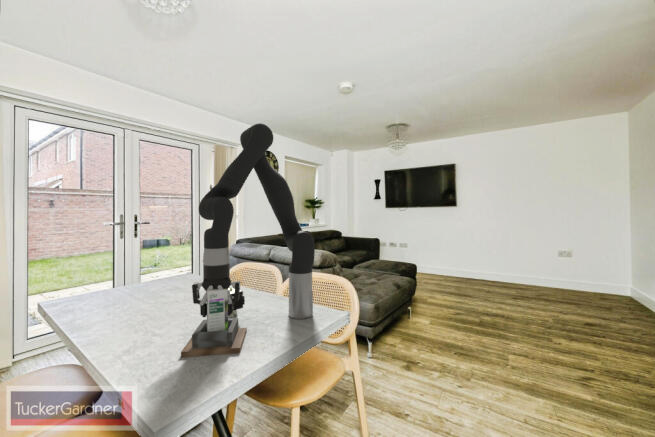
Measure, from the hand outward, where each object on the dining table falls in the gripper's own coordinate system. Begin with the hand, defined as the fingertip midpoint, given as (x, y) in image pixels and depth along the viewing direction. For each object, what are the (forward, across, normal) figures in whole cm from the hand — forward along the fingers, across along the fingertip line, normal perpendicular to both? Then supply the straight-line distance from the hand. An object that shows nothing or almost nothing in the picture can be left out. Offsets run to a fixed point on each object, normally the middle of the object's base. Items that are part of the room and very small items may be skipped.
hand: (217, 315), depth 85 cm
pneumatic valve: (+9, -1, -20) cm, 22 cm away
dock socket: (+9, 0, 0) cm, 9 cm away
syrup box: (+6, 0, 0) cm, 6 cm away
